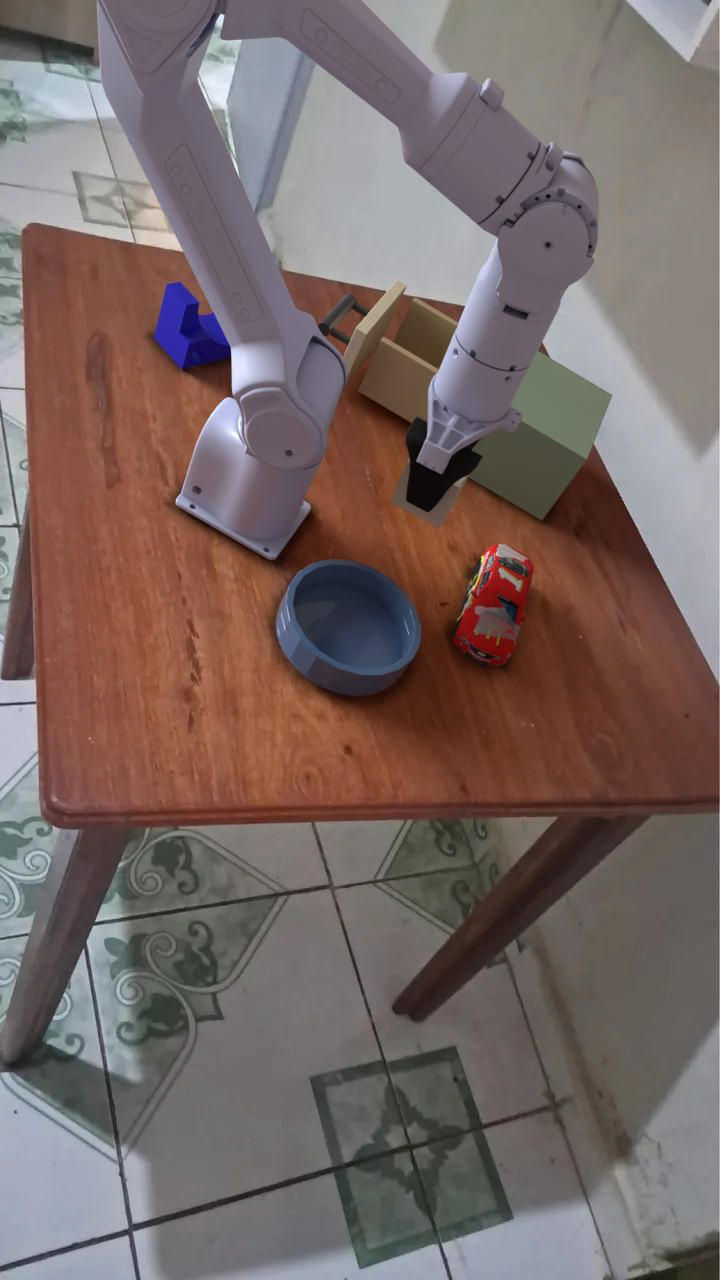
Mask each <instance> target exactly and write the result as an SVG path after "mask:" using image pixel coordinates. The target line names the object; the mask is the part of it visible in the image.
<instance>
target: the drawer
mask: <svg viewBox="0 0 720 1280" xmlns="http://www.w3.org/2000/svg"><path fill="white" fill-rule="evenodd" d="M407 287H408V285H407V284H405V283H403V282H401V281H400V280H398V279H396V280H395V282H394V283H393V284H392V285H391V286H390V287H389V289H388V290H386V292H385V293H384V295H382V297H381V298H379V300H378V302H376V304H375V305H374V306H373V307H372V309H369V308H366V307H365V306H363V305H362V304H360V303H358V302H357V298H356V297H355V295H354V294H351V293H347V294H345V295H344V296H343V297H342V298H341V299H340V300H339V301H338V302H337V304H336V305H335V306H334V307H333V308H332V309H331V310H330V311H329V312H328V313H327V314H326V315H325V316H324V318H323V319H321V321H320V322H318V324H317V326H318V328H319V330H320V332H321V333H322V334H323V336H324V337H328V336H330V337H333V338H334V339H336V340H338V341H340V342H341V343H343V344H345V345H346V346H347V348H346V349H345V352H344V355H343V358H344V360H345V363H346V366H347V373H348V377H347V383H346V386H347V385H348V384H349V382H350V381H351V380H352V379H353V377H354V376H355V375H356V373H357V372H358V371H359V370H360V368H361V367H362V366H363V365H364V364H365V362H366V361H367V360H368V358H369V357H370V356H371V355H372V354H373V356H372V358H371V360H370V362H369V365H368V366H367V369H366V371H365V374H364V376H363V378H362V380H361V382H360V384H359V387H358V389H357V392H358V393H360V394H362V395H363V396H365V397H367V398H369V399H370V400H372V401H374V402H375V403H377V404H379V405H381V406H382V407H384V408H386V409H387V410H389V411H391V412H392V413H394V414H396V415H397V416H399V417H401V418H402V419H404V420H406V421H407V422H409V423H410V424H412V422H413V421H414V419H415V418H416V417H419V418H421V419H422V420H424V421H426V422H427V420H428V389H429V386H430V383H431V381H432V379H433V377H434V376H435V375H436V374H437V373H438V371H439V369H440V366H441V364H442V362H443V359H444V357H445V354H446V352H447V350H448V347H449V345H450V342H451V340H452V337H453V335H454V332H455V330H456V328H457V325H458V323H459V321H456V320H455V319H453V318H451V317H449V315H448V316H447V315H446V314H445V313H443V312H442V311H439V310H438V309H436V308H435V307H433V306H431V305H430V304H428V303H426V302H424V301H423V300H422V299H419V298H418V297H414V298H413V299H412V301H411V303H410V305H409V306H408V309H407V312H406V313H405V315H404V318H403V319H402V322H401V324H400V326H399V329H398V330H397V333H396V335H395V337H394V339H393V340H390V339H389V338H387V337H385V335H386V333H387V331H388V328H389V327H390V324H391V322H392V320H393V318H394V315H395V314H396V312H397V309H398V307H399V304H400V302H401V300H402V298H403V296H404V294H405V292H406V289H407ZM352 310H353V311H354V312H356V313H358V314H360V315H361V316H363V317H364V318H363V319H362V320H361V321H360V322H359V324H357V326H356V327H355V329H354V331H353V333H352V336H350V335H347V334H345V333H343V332H342V331H340V330H338V329H337V327H338V325H339V324H340V323H341V322H343V320H344V318H346V316H347V315H348V314H349V313H350V312H351V311H352ZM374 351H375V352H374ZM373 352H374V353H373Z"/></svg>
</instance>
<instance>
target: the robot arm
mask: <svg viewBox="0 0 720 1280" xmlns="http://www.w3.org/2000/svg"><path fill="white" fill-rule="evenodd" d="M96 13H97V33H98V35H97V37H98V52H99V53H98V54H99V55H98V56H99V70H100V71H99V76H100V84H101V86H102V89H103V92H104V95H105V97H106V99H107V101H108V103H109V105H110V107H111V109H112V111H113V113H114V115H115V118H116V120H117V122H118V123H119V126H120V127H121V129H122V131H123V133H124V136H125V137H126V140H127V142H128V143H129V145H130V147H131V150H132V152H133V154H134V155H135V158H136V160H137V162H138V164H139V166H140V168H141V169H142V172H143V174H144V176H145V178H146V180H147V182H148V184H149V185H150V188H151V189H152V192H153V193H154V196H155V198H156V200H157V202H158V204H159V206H160V208H161V209H162V212H163V214H164V217H165V218H166V220H167V222H168V224H169V226H170V228H171V230H172V232H173V234H174V236H175V238H176V241H177V242H178V244H179V246H180V248H181V250H182V253H183V254H184V256H185V259H186V260H187V262H188V264H189V266H190V268H191V270H192V272H193V274H194V276H195V278H196V281H197V283H198V284H199V286H200V288H201V291H202V292H203V294H204V296H205V298H206V300H207V302H208V304H209V306H210V308H211V310H212V313H214V314H215V316H216V318H217V320H218V322H219V324H220V326H221V328H222V330H223V332H224V334H225V336H226V338H227V340H228V342H229V344H230V347H231V357H230V358H231V391H232V396H233V397H230V396H228V397H225V398H224V399H223V400H222V401H220V402H219V404H218V405H217V406H216V408H215V409H214V410H213V411H212V413H211V414H210V416H209V417H208V419H207V420H206V422H205V424H204V425H203V427H202V430H201V432H200V434H199V436H198V439H197V441H196V444H195V446H194V449H193V453H192V455H191V459H190V463H189V466H188V468H187V472H186V475H185V478H184V482H183V486H182V489H181V492H180V494H179V495H178V496H177V497H176V499H175V505H176V506H177V507H178V508H179V509H182V510H183V511H185V512H187V513H188V514H190V515H192V516H193V517H195V518H196V519H198V520H200V521H202V522H203V523H205V524H207V525H208V526H210V527H212V528H214V529H216V530H217V531H219V532H220V533H223V534H224V535H226V536H228V537H229V538H231V539H232V540H234V541H236V542H237V543H239V544H241V545H243V546H244V547H246V548H248V549H250V550H251V551H253V552H254V553H256V554H258V555H260V556H261V557H263V558H265V559H267V560H269V561H275V560H276V559H277V558H278V557H279V555H280V554H281V552H282V551H283V550H284V549H285V547H286V546H287V544H288V543H289V542H290V540H291V538H293V535H294V534H295V533H296V532H297V530H298V528H300V526H301V525H302V523H303V522H304V521H305V519H306V518H307V516H308V515H309V514H310V512H311V510H312V505H311V503H310V502H307V501H305V500H306V498H307V495H308V493H309V490H310V488H311V486H312V483H313V481H314V479H315V477H316V475H317V473H318V471H319V468H320V466H321V464H322V462H323V459H324V457H325V455H326V453H327V451H328V446H329V442H328V441H329V440H328V433H329V430H330V427H331V424H332V421H333V419H334V415H335V412H336V409H337V406H338V403H339V401H340V397H341V395H342V393H343V392H344V391H345V388H346V386H347V385H346V383H347V377H348V373H347V366H346V363H345V360H344V358H343V357H344V355H342V353H341V352H340V351H339V349H338V347H336V346H335V345H334V344H333V343H331V341H329V340H328V339H327V338H326V336H323V334H322V333H321V332H320V330H319V328H318V324H317V321H316V319H315V317H314V315H312V314H311V313H307V312H306V311H303V310H300V309H298V308H297V307H296V305H295V303H294V300H293V298H292V296H291V294H290V292H289V289H288V287H287V285H286V282H285V280H284V277H283V275H282V273H281V271H280V268H279V266H278V263H277V261H276V259H275V257H274V255H273V252H272V250H271V248H270V247H271V246H270V245H269V243H268V240H267V238H266V236H265V234H264V231H263V228H262V226H261V224H260V221H259V220H258V218H257V215H256V213H255V210H254V208H253V206H252V203H251V202H250V199H249V196H248V194H247V192H246V190H245V187H244V185H243V182H242V180H241V179H240V176H239V173H238V171H237V169H236V166H235V164H234V162H233V159H232V158H231V155H230V152H229V151H228V148H227V145H226V143H225V141H224V138H223V137H222V134H221V132H220V129H219V127H218V125H217V123H216V120H215V118H214V116H213V113H212V111H211V108H210V106H209V104H208V102H207V100H206V97H205V95H204V92H203V90H202V88H201V86H200V83H199V79H198V78H199V74H200V73H199V72H200V70H201V67H202V64H203V61H204V59H205V55H206V54H207V51H208V49H209V48H208V47H209V45H210V42H211V40H212V36H213V34H214V32H215V29H216V23H217V21H218V19H219V17H220V16H221V15H222V16H223V19H222V20H223V21H222V26H221V29H220V36H219V38H220V40H223V41H241V40H243V41H244V40H259V39H273V38H281V39H284V40H285V41H287V42H288V43H290V44H291V45H292V46H294V47H295V48H296V49H297V50H299V51H300V53H302V54H304V55H305V56H306V57H308V58H309V59H310V60H312V61H313V62H314V63H316V64H317V65H318V66H319V67H320V68H321V69H323V70H324V71H326V72H327V73H328V74H329V75H331V76H332V77H333V78H334V79H335V80H337V81H338V82H340V83H341V84H342V85H343V86H345V87H346V88H347V89H348V90H350V91H351V92H352V93H354V94H355V95H356V96H357V97H359V98H360V99H361V100H362V101H364V102H365V103H367V104H368V105H369V106H370V107H371V108H372V109H374V110H375V111H376V112H378V113H379V114H380V115H382V116H383V117H384V118H385V119H387V120H388V121H389V122H390V123H392V124H393V125H394V126H395V127H396V128H397V130H398V133H399V138H400V143H401V144H400V145H401V152H402V158H403V161H404V163H405V164H406V165H408V166H409V168H411V169H412V170H413V171H414V172H416V173H417V174H418V175H419V176H421V178H423V180H425V181H426V182H427V183H429V185H431V186H432V187H433V188H435V190H437V192H439V193H440V194H441V195H442V196H443V197H444V198H446V199H447V200H448V201H449V202H450V203H452V204H453V205H454V206H455V207H456V208H457V209H459V210H460V211H461V212H462V213H463V214H464V215H465V216H467V217H468V218H469V219H470V220H472V221H473V222H474V223H475V224H476V225H477V226H478V227H479V228H480V229H482V230H483V231H485V232H486V233H488V234H490V235H492V236H494V237H495V238H496V240H495V242H494V245H493V247H492V249H491V251H490V254H489V257H488V258H487V261H486V262H485V263H484V264H483V266H482V267H481V268H480V270H479V272H478V275H477V277H476V279H475V282H474V284H473V287H472V289H471V292H470V294H469V297H468V299H467V301H466V304H465V306H464V309H463V311H462V313H461V316H460V318H459V321H458V325H457V328H456V330H455V332H454V335H453V337H452V340H451V342H450V345H449V347H448V350H447V352H446V354H445V357H444V359H443V362H442V364H441V366H440V369H439V371H438V373H437V374H436V375H435V376H434V377H433V379H432V381H431V383H430V386H429V389H428V420H427V422H426V421H424V420H422V419H421V418H419V417H416V418H415V419H414V421H413V422H412V423H410V425H409V426H408V429H407V431H406V434H405V445H406V449H407V452H408V459H410V471H409V478H408V485H407V493H406V501H407V502H408V503H410V504H412V505H414V506H416V507H418V508H420V509H422V510H424V511H426V512H430V511H431V510H432V509H433V508H434V507H435V506H436V505H437V504H438V502H439V501H440V500H441V499H442V497H443V496H444V495H445V493H446V492H447V491H448V489H449V488H450V487H451V486H452V485H453V484H454V483H456V482H457V481H458V480H460V479H461V478H463V477H465V476H467V475H469V474H470V473H471V472H473V471H474V470H475V469H476V468H477V466H478V464H479V462H480V461H481V459H482V457H483V456H482V455H480V454H478V453H476V452H474V451H472V449H473V447H474V446H475V445H476V444H477V443H478V442H479V441H480V440H481V439H482V438H483V437H484V436H485V435H487V434H489V433H491V432H493V431H495V430H496V429H503V430H505V431H507V432H514V431H515V430H516V429H517V427H518V425H519V423H520V421H521V419H522V416H523V415H522V414H521V412H519V411H518V410H516V409H514V408H513V407H512V406H511V403H512V401H513V399H514V397H515V395H516V393H517V391H518V389H519V387H520V385H521V383H522V381H523V379H524V377H525V375H526V373H527V371H528V369H529V367H530V365H531V363H532V361H533V359H534V357H535V355H536V353H537V351H539V350H540V347H541V345H542V343H543V342H544V339H545V337H546V335H547V333H548V331H549V329H550V327H551V325H552V324H553V321H554V319H555V317H556V315H557V314H558V311H559V309H560V308H561V302H562V299H563V297H564V294H565V292H566V291H567V290H568V288H569V286H572V285H573V284H575V283H576V282H578V281H580V280H581V279H582V278H583V277H584V276H585V275H587V273H588V272H589V271H590V269H591V268H592V266H593V265H594V263H595V259H594V257H593V255H594V253H595V251H596V248H597V245H598V239H599V237H598V236H599V235H598V234H599V209H600V208H599V207H600V206H599V205H600V199H599V198H600V197H599V190H598V186H597V182H596V180H595V178H594V176H593V175H594V174H592V172H591V171H590V169H589V168H588V167H587V166H586V165H585V162H584V160H583V158H582V156H580V155H578V154H576V153H575V152H571V151H567V150H563V149H562V148H561V147H560V146H559V145H557V144H556V143H555V142H554V141H551V142H550V143H548V145H547V146H546V144H545V143H543V142H542V141H541V140H540V139H539V138H538V137H537V136H536V135H535V134H533V133H532V132H531V131H530V130H529V129H528V128H527V127H526V126H525V125H523V123H522V122H521V121H520V120H519V119H517V118H516V117H515V115H513V114H512V113H511V112H510V111H509V110H508V109H507V108H506V107H504V105H503V103H504V98H505V94H506V93H505V90H504V89H503V88H502V87H501V86H500V85H498V83H497V82H495V81H494V80H493V78H490V77H488V78H486V80H485V81H484V82H483V83H482V84H480V83H479V82H478V81H477V80H476V79H475V78H473V77H472V75H470V74H469V73H468V72H465V71H464V72H463V71H462V72H448V73H435V72H433V71H432V70H431V69H430V68H428V66H427V65H426V64H425V63H424V62H423V61H422V60H421V59H420V58H419V57H418V56H417V55H416V54H415V53H414V52H413V51H412V50H411V49H410V48H409V47H408V45H406V44H405V43H404V42H403V41H402V40H401V39H400V38H399V36H397V35H396V34H395V32H393V30H391V29H390V28H389V27H388V26H387V24H386V23H384V21H383V20H382V19H381V18H379V16H378V15H377V14H376V13H375V12H374V11H373V10H372V9H371V8H370V7H369V6H368V5H367V4H366V3H365V2H364V1H363V0H96ZM347 384H348V383H347Z"/></svg>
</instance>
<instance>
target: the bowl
mask: <svg viewBox="0 0 720 1280" xmlns="http://www.w3.org/2000/svg"><path fill="white" fill-rule="evenodd" d="M275 617H276V618H275V631H276V637H277V641H278V643H279V646H280V648H281V650H282V652H283V654H284V656H285V658H286V659H287V660H288V662H289V663H290V664H291V666H292V667H293V668H295V670H297V672H298V673H300V674H301V676H303V677H304V678H305V679H307V680H309V682H312V683H313V684H315V685H316V686H318V687H320V688H322V689H324V690H327V691H329V692H332V693H336V694H339V695H344V696H355V697H362V696H363V697H364V696H370V695H374V694H377V693H380V692H382V691H385V690H387V689H388V688H390V687H391V686H392V685H394V684H395V683H396V682H397V681H398V679H399V678H401V676H402V675H403V674H404V673H405V671H406V670H407V668H408V667H409V666H410V664H411V662H412V661H413V660H414V658H415V656H416V654H417V653H418V650H419V648H420V646H421V643H422V642H421V641H422V640H421V639H422V625H421V621H420V618H419V614H418V610H417V609H416V607H415V605H414V603H413V602H412V600H411V599H410V597H409V596H408V594H407V592H406V591H404V589H402V588H401V587H400V586H399V585H398V584H397V583H396V582H395V581H394V580H393V579H392V578H390V577H389V576H388V575H386V574H384V573H383V572H381V571H379V570H377V569H376V568H374V567H372V566H370V565H366V564H364V563H361V562H358V561H355V560H352V559H351V560H350V559H337V558H335V559H334V558H329V559H323V560H320V561H315V562H312V563H310V564H308V565H307V566H305V567H304V568H302V569H301V570H299V571H297V572H296V575H294V577H293V579H292V580H291V582H290V583H289V584H288V587H287V589H286V590H285V593H284V594H283V597H282V599H281V600H280V603H279V606H278V609H277V613H276V616H275Z"/></svg>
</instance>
